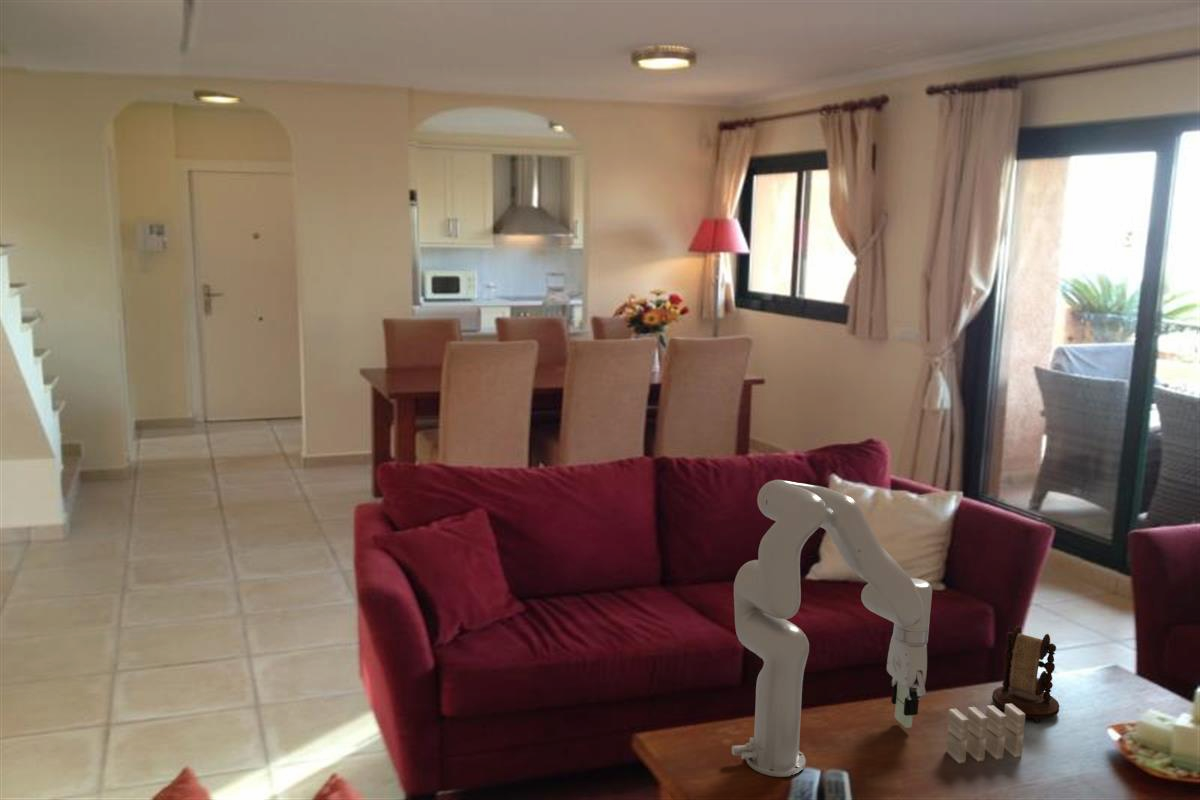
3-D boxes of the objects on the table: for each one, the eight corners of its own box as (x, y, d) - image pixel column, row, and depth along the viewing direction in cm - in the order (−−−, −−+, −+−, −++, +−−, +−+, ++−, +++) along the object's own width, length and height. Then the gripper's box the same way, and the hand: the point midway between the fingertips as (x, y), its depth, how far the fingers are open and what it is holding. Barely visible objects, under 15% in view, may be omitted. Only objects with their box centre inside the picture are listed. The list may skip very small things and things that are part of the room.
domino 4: (996, 759, 214) (1000, 716, 213) (982, 747, 219) (986, 705, 217) (1003, 758, 215) (1006, 715, 213) (989, 747, 219) (993, 705, 218)
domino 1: (905, 727, 225) (908, 686, 223) (894, 717, 229) (897, 676, 228) (911, 727, 225) (915, 685, 223) (900, 716, 230) (904, 676, 228)
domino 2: (958, 763, 213) (962, 720, 211) (946, 751, 217) (949, 709, 216) (965, 762, 213) (969, 719, 211) (952, 750, 218) (956, 708, 216)
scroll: (981, 709, 237) (988, 630, 233) (1005, 689, 248) (1012, 613, 244) (1045, 731, 227) (1053, 648, 224) (1067, 709, 238) (1075, 630, 234)
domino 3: (977, 761, 213) (981, 718, 212) (964, 749, 218) (968, 707, 217) (984, 760, 214) (988, 717, 212) (971, 749, 219) (974, 706, 217)
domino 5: (1014, 757, 215) (1018, 714, 214) (1001, 746, 220) (1005, 703, 218) (1021, 756, 216) (1025, 714, 214) (1007, 745, 220) (1011, 703, 219)
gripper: (877, 620, 231) (871, 693, 234) (914, 649, 215) (907, 728, 218) (907, 618, 233) (900, 691, 236) (946, 647, 216) (938, 725, 219)
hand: (904, 708), depth 227 cm, fingers closed on domino 1, 4 cm apart
